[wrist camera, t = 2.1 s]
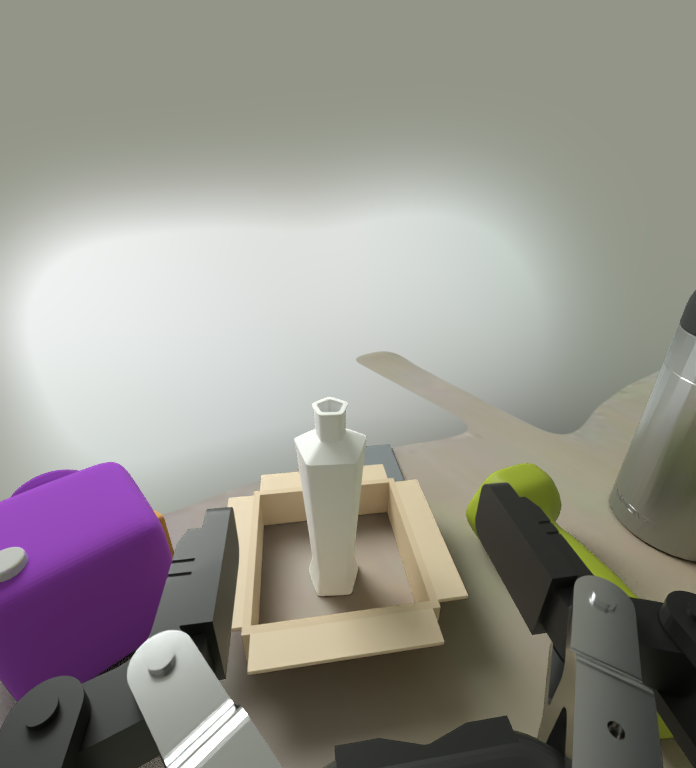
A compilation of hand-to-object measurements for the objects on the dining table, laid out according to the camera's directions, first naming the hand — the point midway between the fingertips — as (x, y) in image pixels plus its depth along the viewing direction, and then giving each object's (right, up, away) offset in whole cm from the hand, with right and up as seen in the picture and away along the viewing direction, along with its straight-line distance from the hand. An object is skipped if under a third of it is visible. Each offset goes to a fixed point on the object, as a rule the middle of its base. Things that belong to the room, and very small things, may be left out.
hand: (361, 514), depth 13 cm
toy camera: (-19, -12, +16) cm, 27 cm away
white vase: (-2, -11, +18) cm, 21 cm away
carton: (-2, -10, +18) cm, 21 cm away
